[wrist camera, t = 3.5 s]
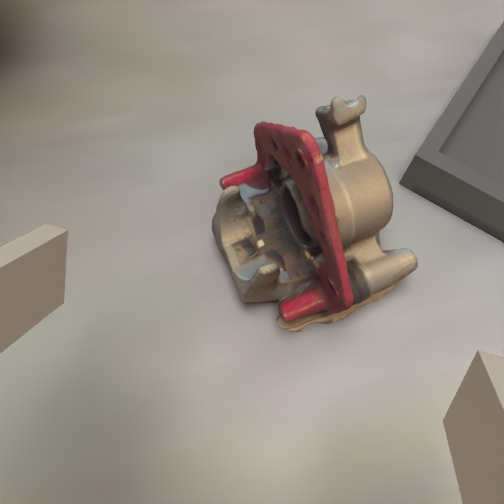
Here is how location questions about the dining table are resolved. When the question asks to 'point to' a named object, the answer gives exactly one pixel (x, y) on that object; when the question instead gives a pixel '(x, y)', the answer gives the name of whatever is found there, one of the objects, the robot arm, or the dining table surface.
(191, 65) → the dining table surface
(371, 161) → the brake caliper
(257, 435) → the dining table surface
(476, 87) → the parts tray
